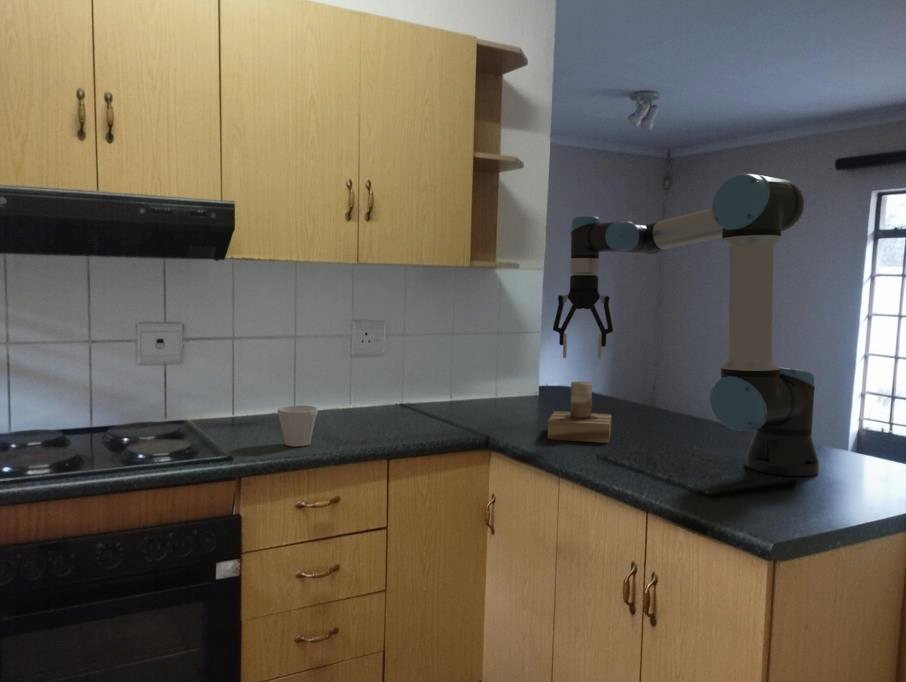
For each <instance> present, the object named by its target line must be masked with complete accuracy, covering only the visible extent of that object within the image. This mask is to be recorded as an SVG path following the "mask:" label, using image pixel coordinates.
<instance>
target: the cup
mask: <svg viewBox="0 0 906 682" xmlns="http://www.w3.org/2000/svg"><path fill="white" fill-rule="evenodd" d="M318 412H319V409H318V407H316V406H314V405H313V406H311V405H287V406H281V407H279V408H277V415H278V419H279V422H280V427H281V431H282V435H283V439H284V444H285V446H286V447H288V446H289V447H288V448H304V447H308V446H310V445H311V441H312V436H313V432H314V427H315V421H316V417H317V416H318Z"/></svg>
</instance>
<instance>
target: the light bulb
mask: <svg viewBox="0 0 906 682" xmlns="http://www.w3.org/2000/svg"><path fill="white" fill-rule="evenodd" d="M592 396H593V383H592V382H589V381H571V382H570V412H571V414H570V417H571V418H574V419H590V418H591V413H592V404H593V403H592V402H593V397H592Z"/></svg>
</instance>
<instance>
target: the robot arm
mask: <svg viewBox="0 0 906 682" xmlns="http://www.w3.org/2000/svg"><path fill="white" fill-rule="evenodd" d="M804 207H805V200H804V196H803V193H802V191H801V190H800V188H799V187H798V186H797V185H796V184H795V183H793V182H791V181H789V180H787V179H783V178H778V177H773V176H772V177H771V176H766V175H761V174H759V173H738V174H735V175H733V176H730V177H729V178H727V179H726V180H724V182H722V184H721V185H720V186H719V187H718V188H717V189H716V192H715V194H714V195H713V198H712V203H711V208H707V209H703V210H699V211H696V212H691V213H688V214H687V213H686V214H683V215H678V216H674V217H671V218H667V219H662V220H659V221H655V222H651V223H645V224H643V223H642V224H641V223H634V222H633V221H629V220H627V221H626V220H617V221H612V222H611V221H610V222H609V221H608V222H601V219H600V217H599V216H591V215H586V216H585V215H583V216H576V217H574V218H572V221H571V230H570V265H569V266H570V267H569V268H570V269H569V270H570V273H571V274H572V275H571V276H570V277H569V292H568V294H565V295H562V294H560V295H558V296H557V300H558V301H557V302H558V305H557V310H556V312H555V314H556V315H555V318H554V322H553V326H552V330H553V331H554V332H556V333H558V334H559V335H558V336H559V339H558V340H559V341H558V343H559V345H560V346H562V359H563V358H564V359H566V358H567V356H568V333H567V332H565V331H566V330H567V328H568V326H569V324H570V323H571V320H572V318H573V316H574V314H575V312H576V310H582V309H585V310H590V312H591V314H592V316H593V318H594V320H595V321H596V324H597V327H598V329H599V331H600V333H601V334H600V333H599V334H598V349H597V352H598V353H597V359H598V360H602V350H603V349H602V347H606V345H607V335H608V334H610V333H611V334H612V333H613V331H614V327H613V320H612V316H611V309H610V306H609V303H610V300H611V299H610V296H609V295H601V294H600V293H599V276H598V275H597V274H599V270H600V269H599V267H600V253H601V252H602V253H605V252H606V253H607V252H609V253H610V252H614V253H615V252H616V253H617V252H618V253H619V252H620V253H639V254H647V255H655V254H660V253H663V252H664V251H665V250H668V249H673V248H679V247H681V246H687V245H692V244H697V243H701V242H706V241H707V242H708V241H712V240H717V239H721V241H722V242H723V243H724V244H725V245H726V246H727V247H728V248H729V265H728V267H729V270H728V271H729V272H728V273H729V275H728V277H729V281H728V283H729V285H728V287H729V289H728V290H729V291H728V292H729V293H728V294H729V295H728V357H727V360H726V361H724V363H723V364H722V365H721V366H720V379H719V380H718V381H716V382H715V385H713V386H712V388H711V389H710V390H711V391H710V395H709V403H710V407H711V410H712V412H713V414H714V416H715V418H716V419H718V420H719V422H720V423H721V424H722V425H723V426H724V427H726V428H727V429H731V430H733V431H739V432H743V431H746V432H752V431H754V435H753V437H752V439H751V441H750V444H749V446H748V449H747V452H746V455H745V466H746V467H748V468H749V469H751V470H753V471H757V472H760V473H764V474H769V475H774V476H775V475H776V476H785V477H811V476H815V475H818V473H819V470H820V468H819V467H820V463H819V458H818V455H817V452H816V447H815V446H814V441H813V438H812V437H813V436H812V433H813V416H814V401H815V399H814V398H815V391H816V386H815V375H814V374H813V373H812V372H811V371H809V370H805V369H804V370H803V369H797V368H795V369H794V368H789V367H780V366H779V365H778V364H777V363H775V361H774V360H773V304H774V301H773V299H774V298H773V297H774V296H773V291H774V290H773V289H774V288H773V285H774V281H773V280H774V278H773V277H774V247H775V245H776V244H777V243H778V242H779V241H780V240H781V239H782V232H784V231H787V230H788V229H791V228H792V227H793V226H795V224H796V223H798V222H799V220H800V219H801V217H802V215H803V212H804V209H805V208H804ZM567 300H569V301H570V303H571V304H572V305H571V307H570V309H569V312H568V314H567V315H566V317H565V320H564V321H563V324H562V325H561V327H560V323H561V318H562V315H563V310H564V306H565V303H566V302H567ZM599 300H600V303H601V304H603V308H604V309H603V310H604V314H605V320H606V326H607V328H605V324H603V321H602V319H601V317H600V315H599V312H598V310H597V307H596V306H595V305H596V304H597V302H598V301H599Z"/></svg>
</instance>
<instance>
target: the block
mask: <svg viewBox="0 0 906 682" xmlns="http://www.w3.org/2000/svg"><path fill="white" fill-rule="evenodd" d="M570 414H571V411H560V410H559V411H558V410H557V411H556V410H554V411H553V413H552V414H551V416H550V417H549V418H548V420H547V440H556V441H571V442H572V441H574V442H587V443H588V442H589V443H602V444H603V443H604V444H609V443H610V438H611V435H612V434H611V432H612V414H611V413H610V414H609V413H594V412H593V413H592V412H591V418H590V419H574V418H571V417H570Z"/></svg>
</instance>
